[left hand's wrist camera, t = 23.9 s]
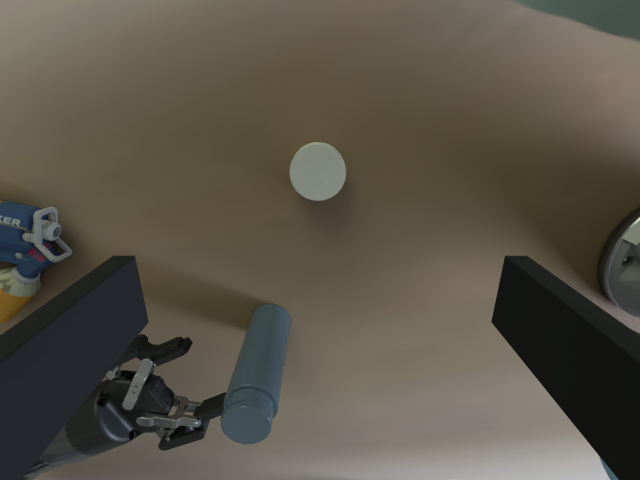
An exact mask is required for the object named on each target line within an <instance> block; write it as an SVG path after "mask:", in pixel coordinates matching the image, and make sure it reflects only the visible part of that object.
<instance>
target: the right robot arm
mask: <svg viewBox="0 0 640 480" xmlns="http://www.w3.org/2000/svg"><path fill="white" fill-rule="evenodd" d="M191 345H192V341H191V340H190V338H189V337H187V338H185V339H183V338H182V337H176V338H174V339H172V340H170V341H167V342H165V343H162V344H160V345H156V344H155V345H152V344H151V343H149V342H148V338H147V336H145V335H143V334H141V335H138V336H137V337H136V338H135V339H134V341H133V342H132V343H131V344H130V346H129V347H128V348H127V349H126V351H125V352H124V353H123V354H122V356H121V357H120V358H119V359H118V361H117V362H116V363H115V364H114V365H113V367H112V368H111V369H110V370H109V372H108V373H107V374H106V375H105V376H106V377H107V378H108V380H105V381H103V382H101V383H99V384H98V385H97V387H96V388H95V389H94V390H93V392H92V393H91V394H90V395H89V396H88V398H87V399H86V400H85V401H84V403H83V404H82V405H81V406H80V408H79V409H78V410H77V411H76V413H75V414H74V415H73V416H72V418H71V419H70V420H69V421H68V423H67V424H66V425H65V426H64V427H63V429H62V430H61V431H60V432H59V434H58V435H57V436H56V437H55V439H54V440H53V441H52V442H51V444H50V445H49V446H48V447H47V449H46V450H45V451H44V452H43V454H42V455H41V456H40V457H39V458H38V460H37V461H36V462H35V463H34V465H33V466H32V467H31V468H30V470H29V471H28V472H27V473H26V475H25V476H24V477H23V478H22V480H33V479H35V478H36V477H38V476H39V475H41V474H42V473H44V472H46V471H49V470H52V469H54V468H57V467H60V466H62V465H65V464H69V463H74V462H78V461H81V460H84V459H87V458H89V457H92V456H94V455H97V454H100V453H102V452H105V451H107V450H110V449H113V448H115V447H118V446H120V445H123V444H126V443H128V442H130V441H131V440H133V439H134V438H136V437H137V436H139V435H140V434H142V433H146V432H150V433H153V432H156V434H157V435H158V436H159V438H160V439H161V441H160V444H159V448H160V449H161V450H168V449H172V448H175V447H178V446H181V445H184V444H188V443H191V442H194V441H197V440H200V439H203V438H204V436H205V433H206V430H207V427H208V424H209V421H210V419H212V418H215V417H218V416H219V415H222V413H223V411H224V405H223V404H224V398H225V395H226V392H225V393H222V394H220V395H217V396H215V397H212V398H209V399H207V400H204V401H203V403H199V402H193V401H189V400H188V398H187V397H183V396H176V395H175V394H174V393H173V391H172V390H171V389H169V388H168V387H167V386H166V385H165V383H164V380H163V379H162V378H161V377H160V376H156V375H154V374H153V371H154V369H155V367H156V365H157V366H159V365H161V364H164V363H166V362H169V361H171V360H173V359H176V358H178V357H180V356H183V355H185V354H186V353H187V352H188V351H189V349H190V347H191ZM135 357H137V358H138V359H140V360H141V363H140V366H139V368H138V370H137V372H135V371H127V370H122V371H120V369H119V368H120V367H121V366H122V364H123V363H125V362H127V361H129V360H131V359H133V358H135ZM172 406H176V407H178V408H177V410H176V412H175V414H174V415H172V416H168V414H169V412H170V410H171V408H172ZM185 412H194V414H193V416H191V415H184V413H185ZM194 429H195V430H194Z"/></svg>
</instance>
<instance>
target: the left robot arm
mask: <svg viewBox="0 0 640 480" xmlns="http://www.w3.org/2000/svg"><path fill="white" fill-rule="evenodd" d="M598 277H599V282H600V286H601V288H602V291H603V292H604V294H605V295H606V297H607V298H608V299H609V300H610V301H611V302H612V303H614V304H615V305H616V306H618V307H620V308H621V309H623V310H624V311H626V312H627V313H629V314H631V315H633V316H636V317H638V318H640V208H639V209H637V210H636V211H635V212H633V213H632V214H631V215H630V216H628V217H627V218H626V219H625V220H624V221H623V222H622V223H621V224H620V225H619V226H618V227H617V228H616V230H615V231H614V232H613V234H612V235H611V236H610V238H609V240H608V241H607V243H606V245H605V247H604V249H603V251H602V254H601V257H600V261H599V268H598ZM147 323H148V317H147V312H146V307H145V302H144V298H143V293H142V288H141V283H140V278H139V274H138V269H137V264H136V259H135V256H112V257H111V258H109V259H108V260H107V261H105V262H104V263H102V264H101V265H100V266H98V267H97V268H95V269H94V270H93V271H91V272H90V273H88V274H87V275H85V276H84V277H83V278H81V279H80V280H78V281H77V282H76V283H74V284H73V285H71V286H70V287H69V288H67V289H66V290H64V291H63V292H61V293H60V294H59V295H57V296H56V297H54V298H53V299H52V300H50V301H49V302H47V303H46V304H44V305H43V306H42V307H40V308H39V309H37V310H36V311H35V312H33V313H32V314H30V315H29V316H28V317H26V318H25V319H23V320H22V321H20V322H19V323H18V324H16V325H15V326H13V327H12V328H11V329H9V330H8V331H6V332H5V333H4V334H2V335H0V480H22V478H23V477H24V476H25V475H26V473H27V472H28V471H29V470H30V468H31V467H32V466H33V465H34V463H35V462H36V461H37V460H38V458H39V457H40V456H41V455H42V454H43V452H44V451H45V450H46V449H47V447H48V446H49V445H50V444H51V442H52V441H53V440H54V439H55V437H56V436H57V435H58V434H59V432H60V431H61V430H62V429H63V427H64V426H65V425H66V424H67V423H68V421H69V420H70V419H71V418H72V416H73V415H74V414H75V413H76V411H77V410H78V409H79V408H80V406H81V405H82V404H83V403H84V401H85V400H86V399H87V398H88V396H89V395H90V394H91V393H92V392H93V390H94V389H95V388H96V387H97V385H98V384H99V383H100V382H101V380H102V379H103V378H104V377H105V375H106V374H107V373H108V372H109V370H110V369H111V368H112V367H113V365H114V364H115V363H116V362H117V361H118V359H119V358H120V357H121V356H122V354H123V353H124V352H125V351H126V349H127V348H128V347H129V346H130V344H131V343H132V342H133V341H134V339H135V338H136V337H137V336H138V335H139V333H140V332H141V331H142V330H143V328H144V327H145V326H146V325H147ZM492 323H493V325H494V326H495V327H496V328H497V330H498V331H499V332H500V333H501V335H502V336H503V337H504V338H505V339H506V341H507V342H508V343H509V344H510V346H511V347H512V348H513V349H514V351H515V352H516V353H517V354H518V356H519V357H520V358H521V359H522V361H523V362H524V363H525V364H526V365H527V367H528V368H529V369H530V370H531V372H532V373H533V374H534V375H535V377H536V378H537V379H538V380H539V382H540V383H541V384H542V385H543V387H544V388H545V389H546V390H547V392H548V393H549V394H550V395H551V396H552V398H553V399H554V400H555V401H556V403H557V404H558V405H559V406H560V408H561V409H562V410H563V411H564V413H565V414H566V415H567V416H568V418H569V419H570V420H571V421H572V423H573V424H574V425H575V426H576V427H577V429H578V430H579V431H580V432H581V434H582V435H583V436H584V437H585V439H586V440H587V441H588V442H589V444H590V445H591V446H592V447H593V449H594V450H595V451H596V452H597V454H598V455H599V456H600V460H601V462H602V464H603V467H604V469H605V471H606V473H607V474H608V476H609V478H610V480H640V333H637V332H635V331H633V330H631V329H629V328H628V327H627V326H625V325H624V324H622V323H621V322H620V321H618V320H617V319H615V318H614V317H612V316H611V315H610V314H608V313H607V312H605V311H604V310H603V309H601V308H600V307H598V306H597V305H595V304H594V303H593V302H591V301H590V300H588V299H587V298H586V297H584V296H583V295H581V294H580V293H579V292H577V291H576V290H574V289H573V288H571V287H570V286H569V285H567V284H566V283H564V282H563V281H562V280H560V279H559V278H557V277H556V276H555V275H553V274H552V273H550V272H549V271H547V270H546V269H545V268H543V267H542V266H540V265H539V264H538V263H536V262H535V261H533V260H532V259H531V258H529V257H528V256H505V259H504V264H503V269H502V274H501V278H500V283H499V288H498V293H497V298H496V302H495V307H494V312H493V317H492Z"/></svg>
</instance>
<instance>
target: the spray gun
mask: <svg viewBox="0 0 640 480" xmlns="http://www.w3.org/2000/svg"><path fill="white" fill-rule="evenodd" d="M48 213H50V215H51V221H48V216H47V214H48ZM61 230H62V229H61V227H60V224H59V223H58V211H57V208H55V207H48V208H45V209H40V208H36V207H32V206H27V205H23V204H19V203H14V202H10V201H0V261H2V262H7V263H12V264H16V266H10V267H5V268H3V269H1V270H0V323H5V322H8V321H10V320H12V319H13V318H14V317H15V316H16V315H17V313H18V312H19V311H20V310H21V309H22V308H23V307H24V306H25V305H26V304H27V303H28V302H29V301H30V300H31V299H32V298H33V297H34V296H35V295H36V294H37V293H38V292H39V290H40V287H41V283H40V275H41V274H40V272H41V271H43V270H45V269H46V268H47V267H48V266H49V265H51V264H52V263H53V262H59V261H61V260H63V259H64V258H66V257H68V256H70V255H71V254H72V250H71V249H70V248H69V247H68V246H67V245H66V244H65V243H64V242H63V241H62V240H61V239H60V238H59V236H60V234H61ZM48 240H50V241H51V240H54V241H55V242H56V243H57V244H58V245H59V246H60V247H61V248H62V249H63V250H64V251H65V253H64V254H62V255H60V253H59V252H58V251H57V250H56V249H55V248H54V247H53V246H52V245H51V244H50V243H49V242H48Z"/></svg>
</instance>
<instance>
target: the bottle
mask: <svg viewBox="0 0 640 480" xmlns="http://www.w3.org/2000/svg"><path fill="white" fill-rule="evenodd" d="M289 327H290V317H289V315H288V313H287V312H286V310H285V309H283V308H282V307H280V306H278V305H275V304H265V305H262V306H260V307H258V308H257V309H256V310H255V311H254V312H253V314H252V316H251V320H250V323H249V326H248V329H247V332H246V335H245V338H244V341H243V344H242V347H241V350H240V353H239V356H238V359H237V362H236V365H235V368H234V371H233V374H232V377H231V380H230V383H229V386H228V389H227V392H226V395H225V398H224V404H223V405H224V411H223V413H222V416H221V427H222V430H223V432H224V433H225V435H226V436H227V437H228V438H230V439H231V440H233V441H235V442H238V443H242V444H254V443H258V442H260V441H262V440H264V439H265V438H266V437H267V436H268V435H269V433H270V431H271V427H272V421H273V418H274V417H275V415H276V414H277V411H278V406H279V398H280V391H281V384H282V377H283V370H284V363H285V356H286V348H287V341H288V334H289Z"/></svg>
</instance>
